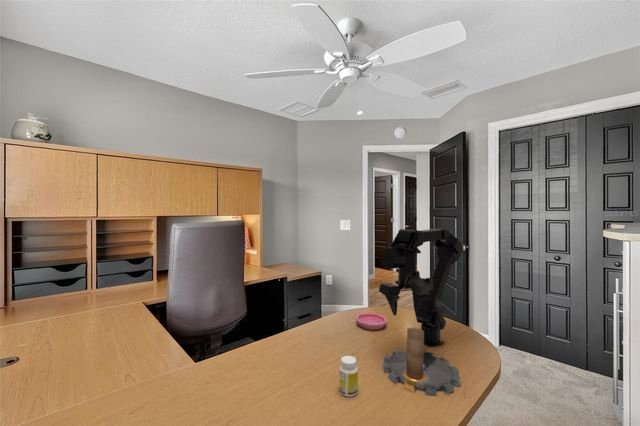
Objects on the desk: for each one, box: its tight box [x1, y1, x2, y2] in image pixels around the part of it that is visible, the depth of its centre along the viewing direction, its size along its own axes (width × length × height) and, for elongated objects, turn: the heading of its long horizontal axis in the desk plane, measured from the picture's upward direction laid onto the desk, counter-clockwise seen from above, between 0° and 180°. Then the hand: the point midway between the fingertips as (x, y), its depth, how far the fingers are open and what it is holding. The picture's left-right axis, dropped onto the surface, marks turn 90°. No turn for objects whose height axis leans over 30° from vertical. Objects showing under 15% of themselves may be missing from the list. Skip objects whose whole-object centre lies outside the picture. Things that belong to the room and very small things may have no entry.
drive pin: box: [406, 327, 425, 380], centre depth 80 cm, size 4×4×12 cm
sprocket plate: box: [382, 349, 461, 396], centre depth 84 cm, size 21×21×2 cm
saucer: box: [355, 312, 388, 331], centre depth 118 cm, size 12×12×3 cm
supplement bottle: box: [338, 355, 359, 398], centre depth 75 cm, size 5×5×8 cm
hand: (405, 313), depth 95 cm, fingers open, 9 cm apart
